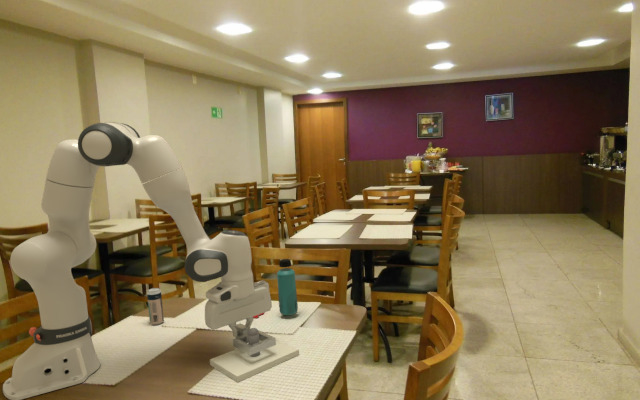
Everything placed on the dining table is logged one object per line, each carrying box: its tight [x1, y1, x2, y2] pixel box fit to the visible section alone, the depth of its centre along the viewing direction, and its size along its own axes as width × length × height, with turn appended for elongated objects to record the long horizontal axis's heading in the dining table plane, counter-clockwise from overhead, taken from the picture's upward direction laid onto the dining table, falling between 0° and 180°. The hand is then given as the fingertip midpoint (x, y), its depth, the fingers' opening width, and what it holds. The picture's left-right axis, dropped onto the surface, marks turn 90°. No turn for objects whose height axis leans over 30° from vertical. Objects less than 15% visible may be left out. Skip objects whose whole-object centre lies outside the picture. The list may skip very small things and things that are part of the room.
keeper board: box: [209, 327, 300, 383], centre depth 123 cm, size 20×14×9 cm
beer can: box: [146, 287, 165, 326], centre depth 155 cm, size 5×5×12 cm
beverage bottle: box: [276, 258, 299, 316], centre depth 155 cm, size 6×7×20 cm
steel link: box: [232, 322, 277, 355], centre depth 124 cm, size 12×8×4 cm
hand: (241, 334), depth 128 cm, fingers closed on steel link, 2 cm apart
